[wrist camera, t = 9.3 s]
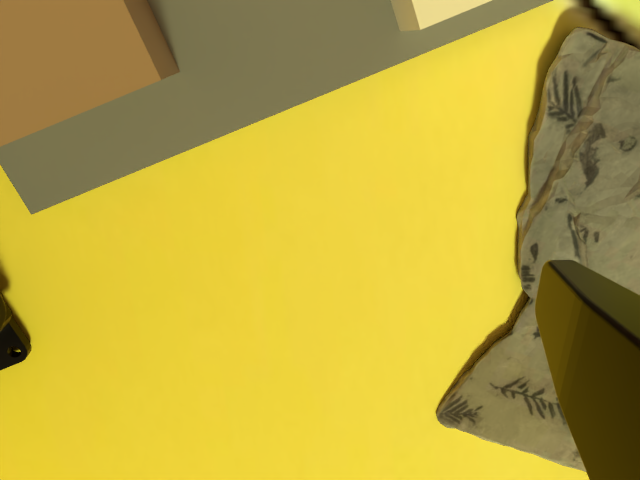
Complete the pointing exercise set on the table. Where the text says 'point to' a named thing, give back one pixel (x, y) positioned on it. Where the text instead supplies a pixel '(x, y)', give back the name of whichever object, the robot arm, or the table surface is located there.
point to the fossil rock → (562, 237)
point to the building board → (187, 73)
